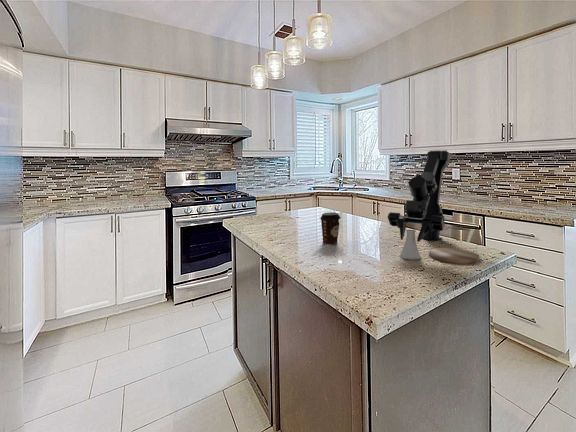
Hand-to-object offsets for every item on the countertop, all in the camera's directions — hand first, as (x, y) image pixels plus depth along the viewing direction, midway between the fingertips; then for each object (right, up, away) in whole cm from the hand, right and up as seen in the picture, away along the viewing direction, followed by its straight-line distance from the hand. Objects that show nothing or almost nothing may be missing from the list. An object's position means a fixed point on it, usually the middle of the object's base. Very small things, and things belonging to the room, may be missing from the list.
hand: (409, 240), depth 111 cm
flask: (+1, -7, +2) cm, 7 cm away
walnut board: (+16, -6, +1) cm, 17 cm away
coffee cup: (-25, -3, +24) cm, 35 cm away
